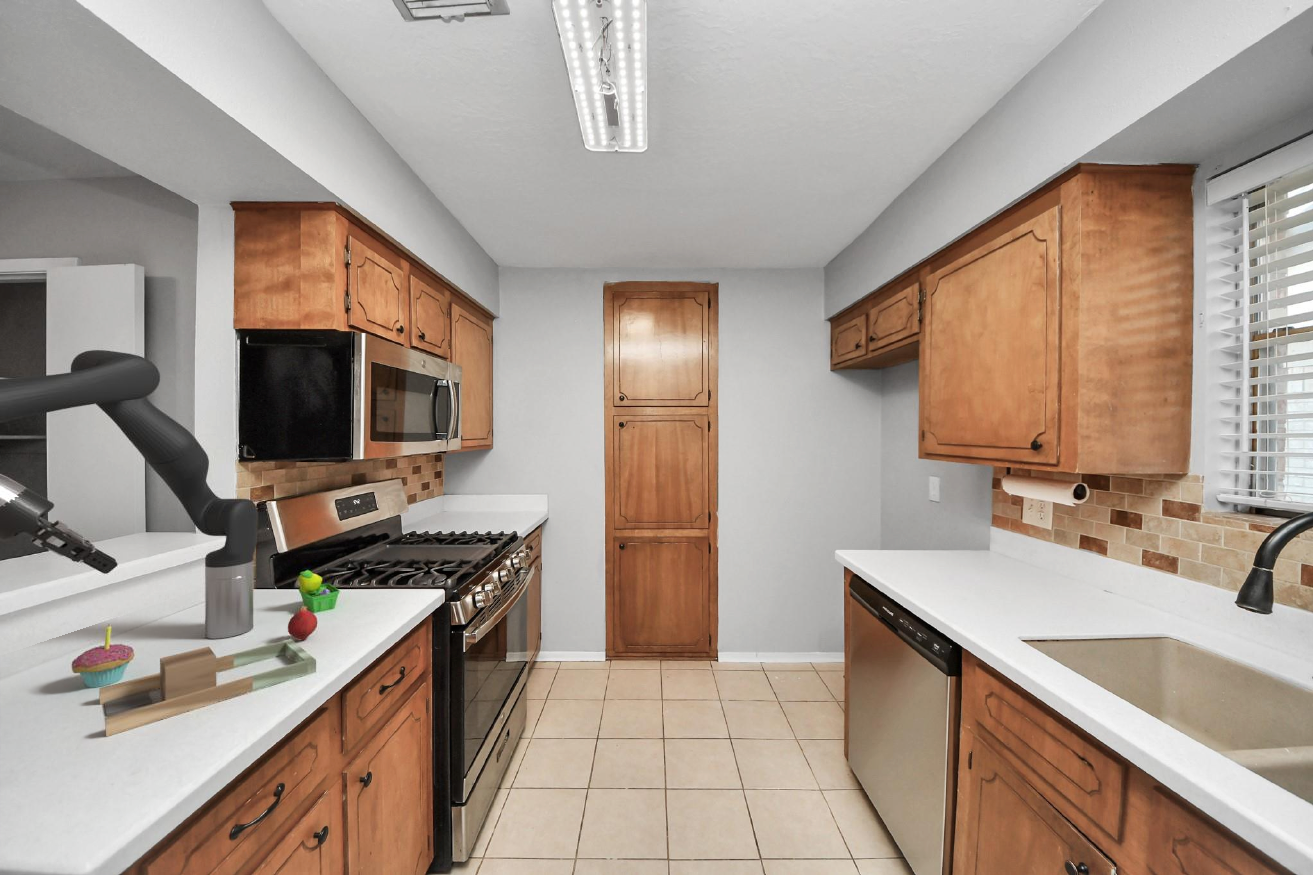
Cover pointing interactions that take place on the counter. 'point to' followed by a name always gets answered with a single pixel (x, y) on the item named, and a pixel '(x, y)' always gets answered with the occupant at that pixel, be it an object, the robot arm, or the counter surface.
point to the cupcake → (103, 663)
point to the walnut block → (187, 673)
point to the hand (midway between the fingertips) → (111, 567)
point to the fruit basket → (316, 592)
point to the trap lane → (135, 709)
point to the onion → (302, 624)
